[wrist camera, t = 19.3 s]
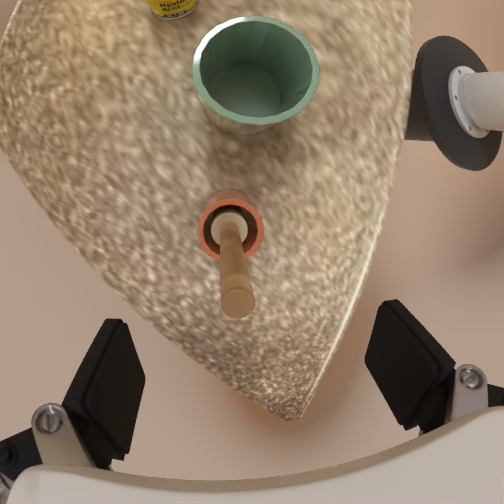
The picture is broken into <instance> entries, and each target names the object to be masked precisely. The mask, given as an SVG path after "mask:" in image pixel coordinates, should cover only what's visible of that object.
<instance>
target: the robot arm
mask: <svg viewBox="0 0 504 504" xmlns="http://www.w3.org/2000/svg"><path fill="white" fill-rule="evenodd" d="M448 93H449V99H450V103H451V107H452V109H453V112H454V115H455V117H456V119H457V121H458V123H459V124H460V126H461V127H462V128H463V130H464V131H465V132H466V133H467V134H468V135H470V136H472V137H475V138H483V137H485V136H486V135H487V134H488V133H489V131H490V130H495V131H504V71H494V72H483V73H475V71H473V70H472V69H471V68H469V67H466V66H459V67H456V68H454V69H453V70H452V71H451V73H450V76H449V81H448ZM365 364H366V366H367V368H368V370H369V371H370V373H371V375H372V377H373V378H374V380H375V382H376V383H377V385H378V387H379V389H380V391H381V393H382V394H383V396H384V398H385V400H386V401H387V403H388V405H389V407H390V409H391V411H392V412H393V414H394V416H395V418H396V419H397V422H398V423H399V424H400V425H403V427H404V429H405V430H406V431H407V430H409V429H411V428H414V427H416V426H417V425H419V427H420V432H419V436H418V438H415V439H413V440H410V441H408V442H406V443H403V444H400V445H398V446H395V447H393V448H390V449H387V450H385V451H382V452H379V453H376V454H373V455H370V456H367V457H364V458H360V459H357V460H354V461H350V462H347V463H343V464H339V465H336V466H331V467H327V468H322V469H318V470H313V471H308V472H303V473H297V474H291V475H284V476H276V477H268V478H259V479H245V480H226V481H225V480H223V481H200V480H198V481H197V480H178V479H166V478H156V477H147V476H139V475H131V474H126V473H120V472H115V471H114V470H113V469H112V467H111V466H110V465H111V462H112V459H116V460H122V461H124V456H125V454H128V453H129V451H130V446H131V442H132V436H133V432H134V427H135V423H136V418H137V414H138V410H139V406H140V401H141V397H142V393H143V389H144V385H145V374H144V371H143V369H142V366H141V363H140V361H139V358H138V355H137V352H136V349H135V346H134V343H133V340H132V337H131V335H130V331H129V328H128V325H127V324H126V323H123V321H122V320H121V319H106V320H105V321H104V323H103V325H102V326H101V328H100V330H99V331H98V333H97V335H96V337H95V339H94V341H93V343H92V344H91V346H90V348H89V350H88V352H87V353H86V356H85V357H84V359H83V361H82V363H81V365H80V367H79V369H78V371H77V373H76V375H75V377H74V379H73V381H72V383H71V385H70V387H69V389H68V391H67V393H66V395H65V398H64V400H63V402H62V405H58V404H56V403H48V404H44V405H42V406H40V407H39V408H38V409H37V410H36V411H35V412H34V414H33V416H32V420H31V423H32V427H31V428H29V429H27V430H25V431H22V432H20V433H18V434H16V435H14V436H11V437H9V438H7V439H4V440H2V441H0V504H504V388H502V387H498V386H494V385H490V384H487V379H486V376H485V374H484V372H483V371H482V370H481V369H480V368H478V367H476V366H473V365H470V364H465V365H461V366H460V367H458V369H457V370H455V369H454V366H455V364H456V362H455V361H454V360H453V359H452V358H451V357H450V355H449V354H448V353H447V352H446V351H445V350H444V348H443V347H442V346H441V345H440V344H439V343H438V342H437V341H436V340H435V338H434V337H433V336H432V335H431V334H430V333H429V332H428V331H427V330H426V329H425V328H424V326H423V325H421V323H420V322H419V321H418V320H417V319H416V318H415V317H414V316H413V315H412V314H411V313H410V312H409V311H408V309H407V308H405V306H404V305H403V304H402V303H401V302H400V301H399V300H397V299H394V300H389V301H384V302H383V303H382V305H380V306H379V308H378V311H377V315H376V319H375V323H374V327H373V330H372V334H371V338H370V341H369V344H368V348H367V351H366V354H365Z"/></svg>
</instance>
